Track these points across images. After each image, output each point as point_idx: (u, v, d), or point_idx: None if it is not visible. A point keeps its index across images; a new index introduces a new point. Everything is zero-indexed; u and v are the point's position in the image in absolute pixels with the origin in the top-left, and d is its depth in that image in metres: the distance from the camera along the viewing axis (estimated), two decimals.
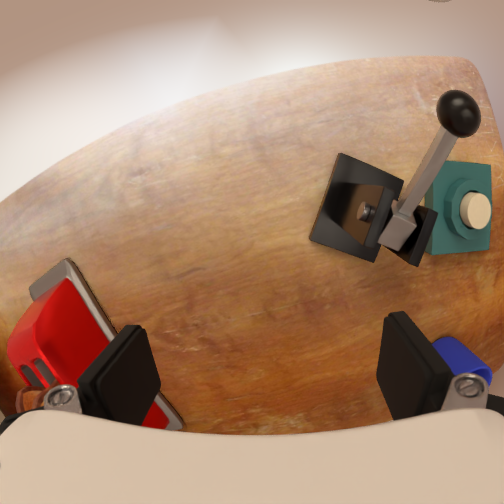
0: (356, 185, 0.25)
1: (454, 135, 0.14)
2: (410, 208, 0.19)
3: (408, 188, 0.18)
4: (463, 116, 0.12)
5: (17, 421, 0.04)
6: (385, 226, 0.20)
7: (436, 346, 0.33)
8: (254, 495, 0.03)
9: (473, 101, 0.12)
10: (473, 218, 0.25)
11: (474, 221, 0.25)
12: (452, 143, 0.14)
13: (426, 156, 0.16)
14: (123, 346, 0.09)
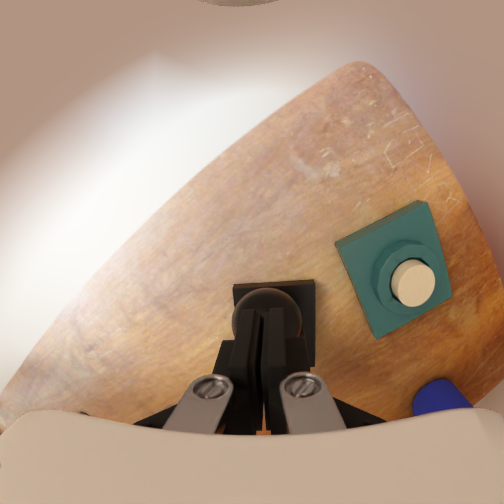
0: None
1: None
2: None
3: None
4: None
5: (17, 421, 0.04)
6: None
7: (420, 397, 0.30)
8: (254, 495, 0.03)
9: None
10: (409, 298, 0.23)
11: (412, 300, 0.23)
12: None
13: None
14: (252, 329, 0.10)
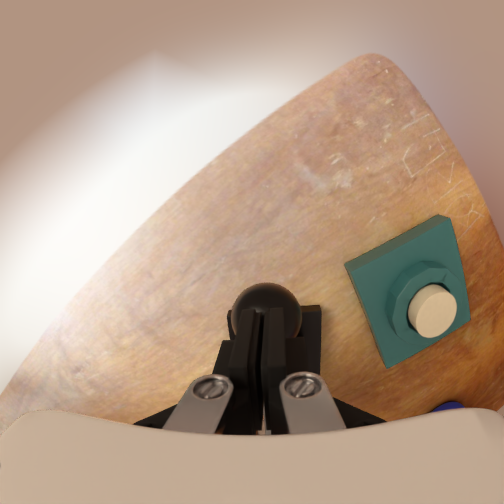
0: None
1: None
2: None
3: None
4: None
5: (17, 421, 0.04)
6: None
7: None
8: (254, 495, 0.03)
9: (267, 298, 0.12)
10: (427, 329, 0.19)
11: (430, 331, 0.19)
12: None
13: None
14: (252, 329, 0.10)
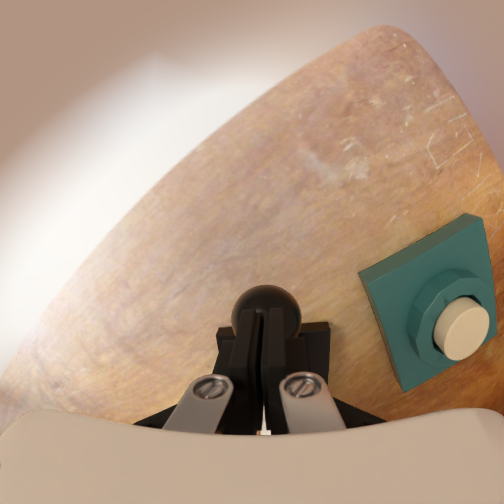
0: None
1: None
2: None
3: None
4: None
5: (17, 421, 0.04)
6: None
7: None
8: (254, 495, 0.03)
9: (267, 289, 0.13)
10: (456, 351, 0.15)
11: (459, 353, 0.15)
12: None
13: None
14: (252, 328, 0.10)
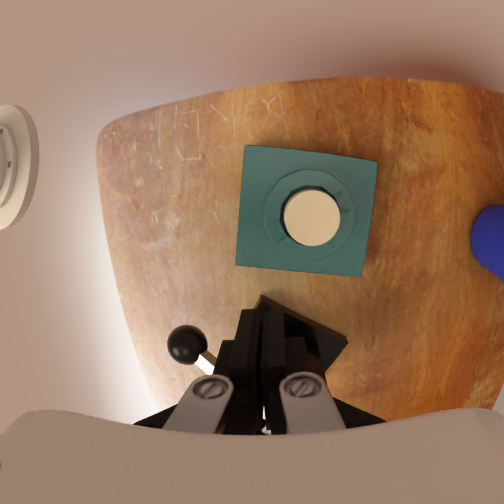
0: None
1: (196, 358, 0.21)
2: None
3: None
4: (173, 353, 0.21)
5: (17, 421, 0.04)
6: None
7: (477, 254, 0.23)
8: (254, 495, 0.03)
9: (169, 335, 0.22)
10: (321, 234, 0.21)
11: (326, 232, 0.20)
12: (204, 360, 0.21)
13: None
14: (252, 328, 0.10)
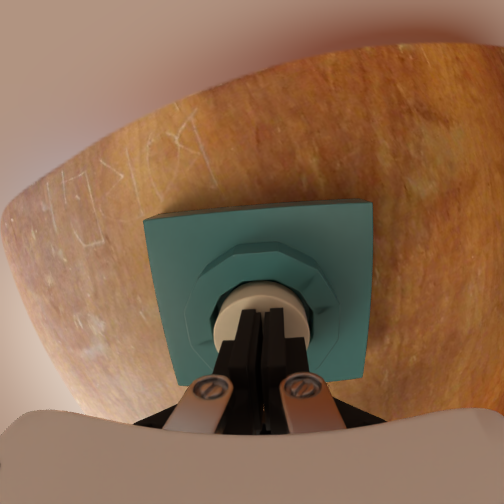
0: None
1: None
2: None
3: None
4: None
5: (17, 421, 0.04)
6: None
7: None
8: (254, 495, 0.03)
9: None
10: None
11: None
12: None
13: None
14: (252, 328, 0.10)
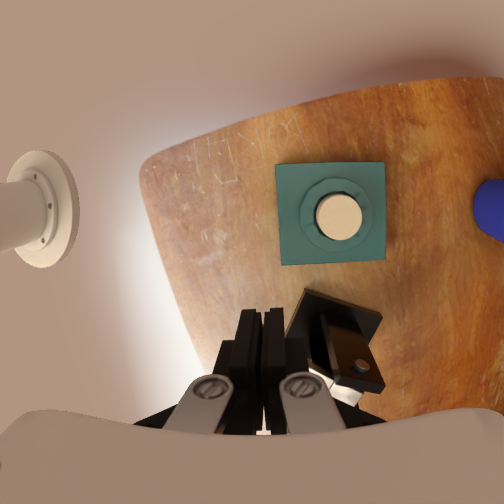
0: None
1: None
2: (325, 380, 0.23)
3: None
4: None
5: (17, 421, 0.04)
6: None
7: (480, 225, 0.26)
8: (254, 495, 0.03)
9: (236, 331, 0.27)
10: (349, 229, 0.25)
11: (352, 227, 0.25)
12: None
13: None
14: (252, 329, 0.10)
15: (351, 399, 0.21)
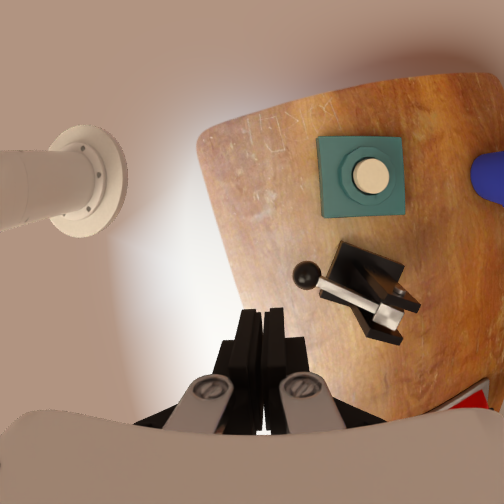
0: (352, 308, 0.34)
1: (317, 281, 0.31)
2: (371, 305, 0.28)
3: None
4: (301, 280, 0.31)
5: (17, 421, 0.04)
6: None
7: (477, 190, 0.32)
8: (254, 495, 0.03)
9: (294, 270, 0.32)
10: (380, 185, 0.30)
11: (382, 183, 0.30)
12: (323, 281, 0.31)
13: None
14: (252, 329, 0.10)
15: (395, 319, 0.27)
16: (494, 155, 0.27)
